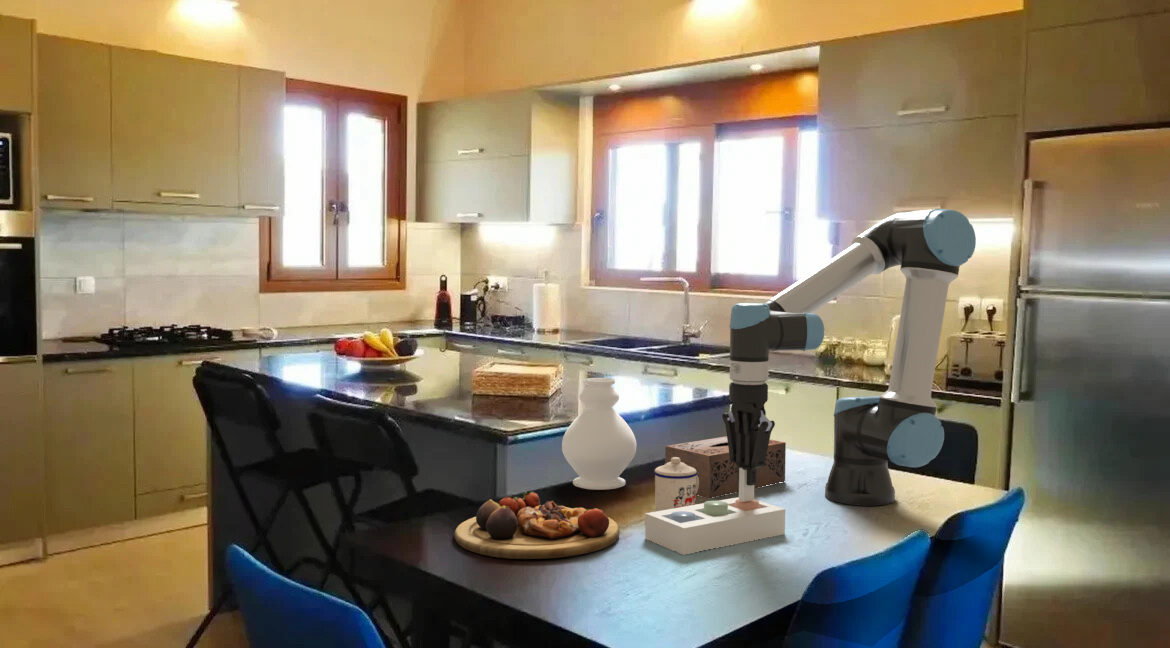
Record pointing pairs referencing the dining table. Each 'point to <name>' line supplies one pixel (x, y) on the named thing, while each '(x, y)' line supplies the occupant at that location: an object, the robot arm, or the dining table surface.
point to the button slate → (682, 516)
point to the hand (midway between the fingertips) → (746, 500)
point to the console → (713, 527)
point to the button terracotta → (747, 505)
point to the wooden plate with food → (535, 529)
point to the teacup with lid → (675, 485)
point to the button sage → (715, 508)
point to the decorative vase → (599, 439)
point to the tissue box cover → (725, 465)
